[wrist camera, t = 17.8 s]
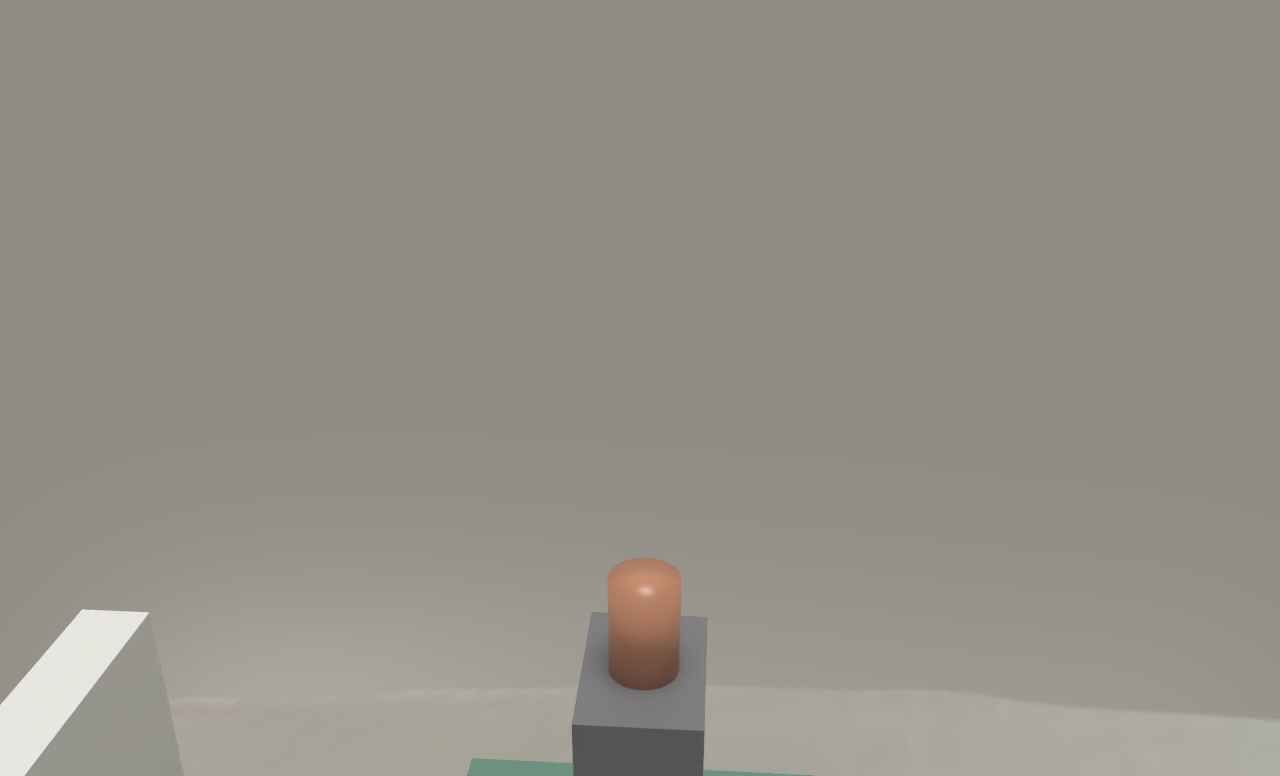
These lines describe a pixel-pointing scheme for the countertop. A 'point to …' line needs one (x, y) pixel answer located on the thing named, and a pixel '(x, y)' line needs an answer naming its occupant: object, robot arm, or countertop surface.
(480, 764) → the board
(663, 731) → the plug
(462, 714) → the countertop surface
